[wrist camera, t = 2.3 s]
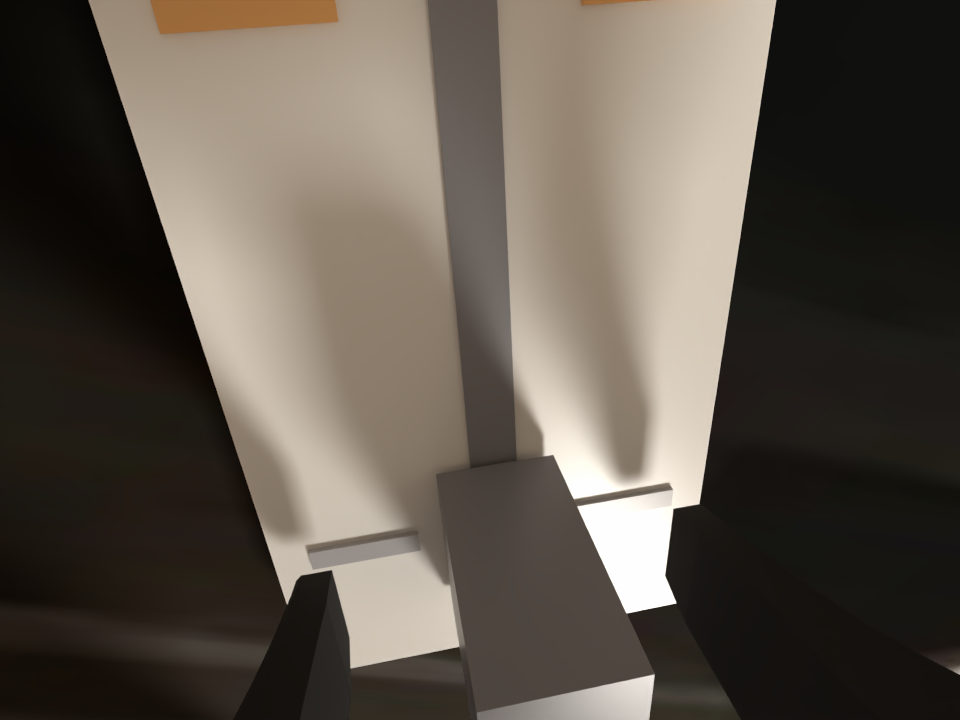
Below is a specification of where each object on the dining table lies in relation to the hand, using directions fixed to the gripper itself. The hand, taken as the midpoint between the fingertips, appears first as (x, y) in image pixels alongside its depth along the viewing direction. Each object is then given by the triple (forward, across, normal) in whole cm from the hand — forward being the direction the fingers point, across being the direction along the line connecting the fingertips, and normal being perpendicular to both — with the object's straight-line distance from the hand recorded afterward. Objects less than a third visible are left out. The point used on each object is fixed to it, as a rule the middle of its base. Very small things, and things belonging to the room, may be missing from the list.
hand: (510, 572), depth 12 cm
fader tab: (+1, 0, 0) cm, 1 cm away
